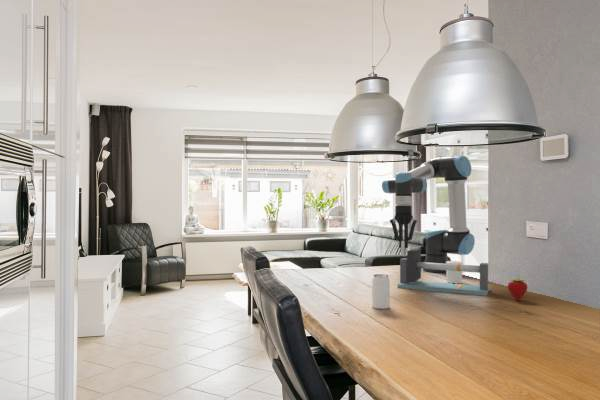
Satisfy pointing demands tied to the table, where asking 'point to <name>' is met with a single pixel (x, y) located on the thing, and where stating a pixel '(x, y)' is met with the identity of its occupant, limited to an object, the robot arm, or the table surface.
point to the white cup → (454, 273)
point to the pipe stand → (446, 287)
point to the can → (380, 291)
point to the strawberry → (517, 288)
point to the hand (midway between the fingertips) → (403, 254)
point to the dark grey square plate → (413, 265)
